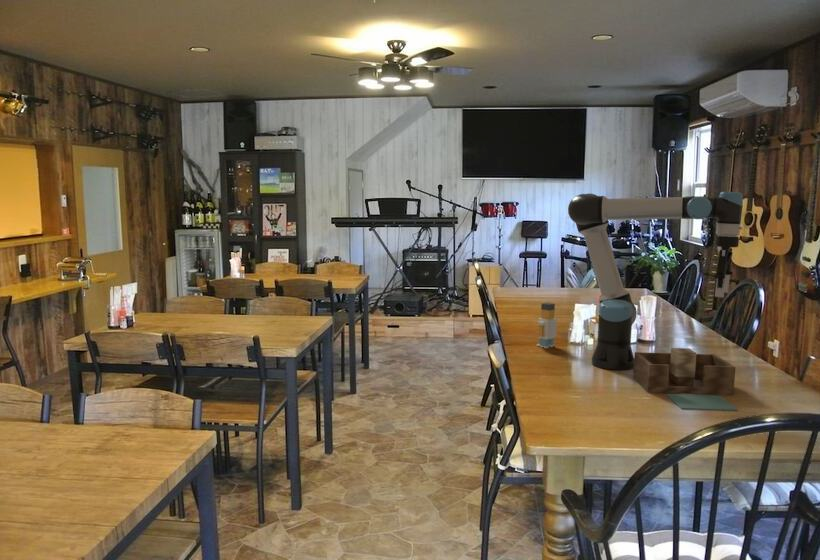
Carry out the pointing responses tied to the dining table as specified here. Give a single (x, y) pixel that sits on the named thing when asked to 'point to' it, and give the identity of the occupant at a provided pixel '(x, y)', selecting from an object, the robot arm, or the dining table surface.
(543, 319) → the character figure
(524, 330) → the dining table surface
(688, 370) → the block
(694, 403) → the mat
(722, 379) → the crate
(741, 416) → the dining table surface
